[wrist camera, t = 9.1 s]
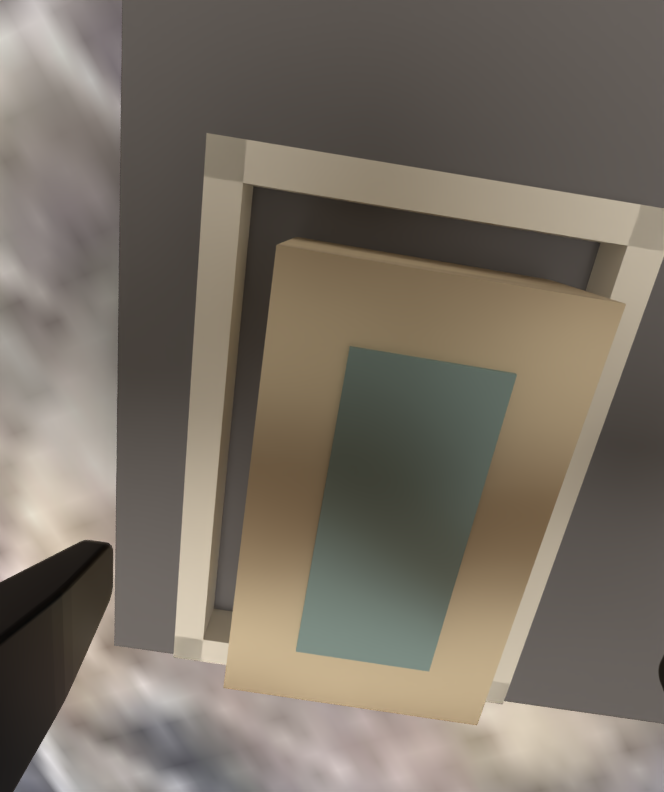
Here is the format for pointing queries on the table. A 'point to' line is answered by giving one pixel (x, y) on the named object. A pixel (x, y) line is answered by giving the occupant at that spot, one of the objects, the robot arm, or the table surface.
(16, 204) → the table surface
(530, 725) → the table surface
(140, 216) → the mat
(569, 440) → the slab
